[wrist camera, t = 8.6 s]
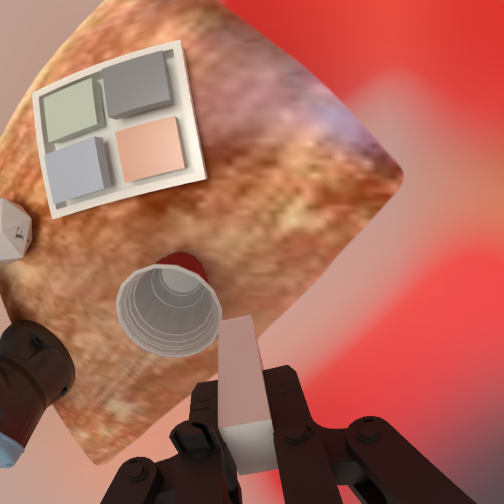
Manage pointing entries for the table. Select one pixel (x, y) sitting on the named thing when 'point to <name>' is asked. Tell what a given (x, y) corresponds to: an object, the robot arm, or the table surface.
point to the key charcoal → (137, 85)
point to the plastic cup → (170, 307)
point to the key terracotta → (151, 149)
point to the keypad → (180, 109)
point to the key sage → (73, 111)
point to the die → (13, 231)
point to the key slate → (77, 169)
